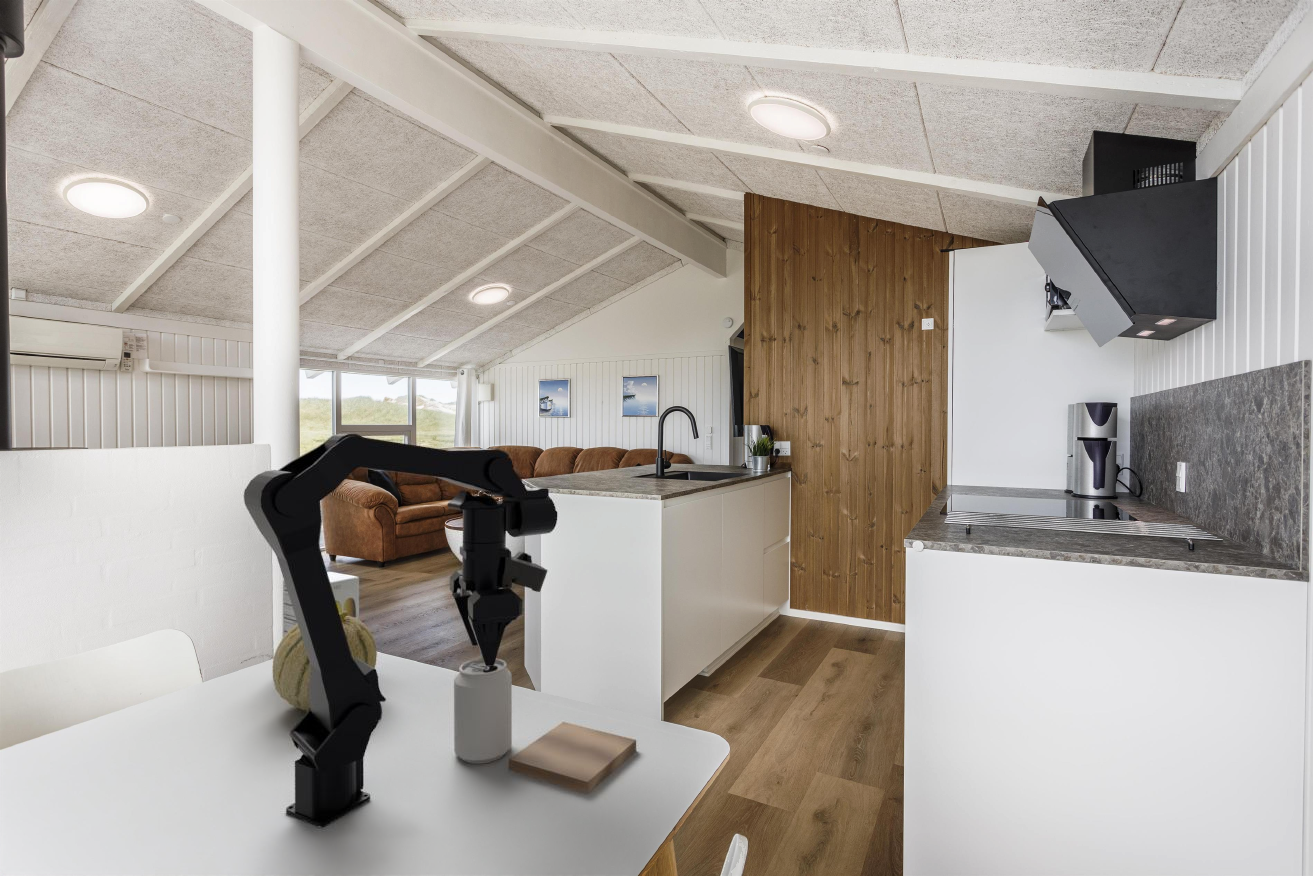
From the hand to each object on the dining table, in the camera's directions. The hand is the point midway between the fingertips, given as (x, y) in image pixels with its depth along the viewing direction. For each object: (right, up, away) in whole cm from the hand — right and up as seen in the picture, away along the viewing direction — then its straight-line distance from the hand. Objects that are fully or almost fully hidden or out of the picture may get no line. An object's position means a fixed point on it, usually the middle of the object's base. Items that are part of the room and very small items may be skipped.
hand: (482, 654), depth 90 cm
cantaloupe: (-28, -13, +13) cm, 34 cm away
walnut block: (+13, -13, -3) cm, 19 cm away
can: (0, -13, -1) cm, 13 cm away
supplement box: (-37, -13, +29) cm, 49 cm away
